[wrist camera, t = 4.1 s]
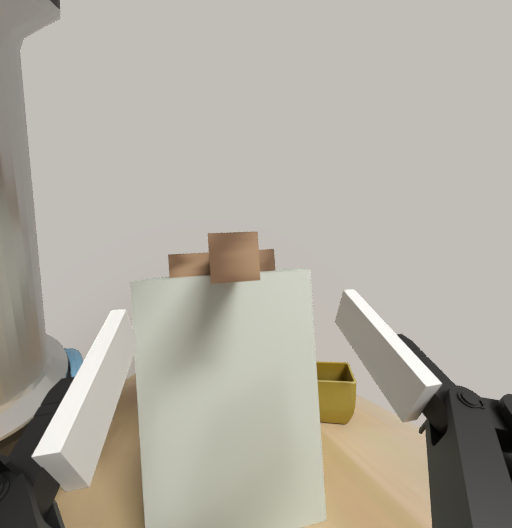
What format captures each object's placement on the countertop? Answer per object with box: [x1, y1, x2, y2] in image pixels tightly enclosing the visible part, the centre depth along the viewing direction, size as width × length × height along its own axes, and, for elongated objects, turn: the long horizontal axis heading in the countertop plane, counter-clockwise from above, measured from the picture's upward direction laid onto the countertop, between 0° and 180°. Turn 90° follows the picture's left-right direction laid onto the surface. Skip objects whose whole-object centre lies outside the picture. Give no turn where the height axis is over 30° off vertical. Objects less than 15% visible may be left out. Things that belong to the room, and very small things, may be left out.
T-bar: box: [168, 232, 275, 284], centre depth 24 cm, size 14×21×3 cm, turn 10°
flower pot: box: [316, 362, 356, 424], centre depth 46 cm, size 9×9×9 cm
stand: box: [130, 269, 326, 528], centre depth 30 cm, size 20×10×30 cm, turn 100°
